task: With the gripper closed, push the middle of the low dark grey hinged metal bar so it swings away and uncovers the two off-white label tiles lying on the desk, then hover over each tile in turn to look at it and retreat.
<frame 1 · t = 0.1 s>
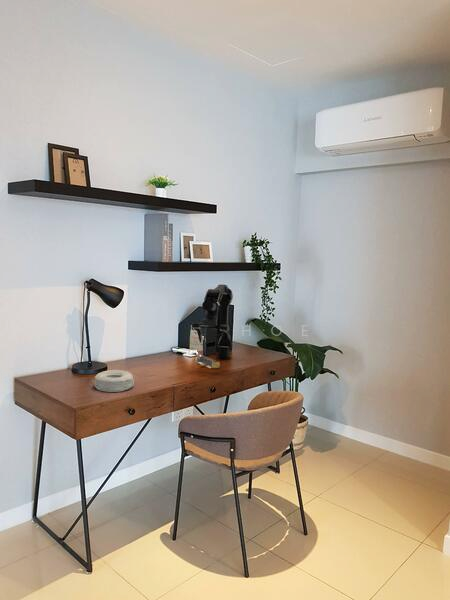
hand: (208, 343, 247), 15 cm above the table, tool pointing down, fingers open, 9 cm apart
label tile a: (205, 363, 267), on the table
grey stone ring: (114, 387, 217), on the table
label tile b: (212, 366, 261), on the table
swing arm: (207, 360, 265), point 2 cm above the table, hinge at 0.0°
pivot base: (200, 361, 271), on the table
ink cartridge box: (197, 354, 290), on the table
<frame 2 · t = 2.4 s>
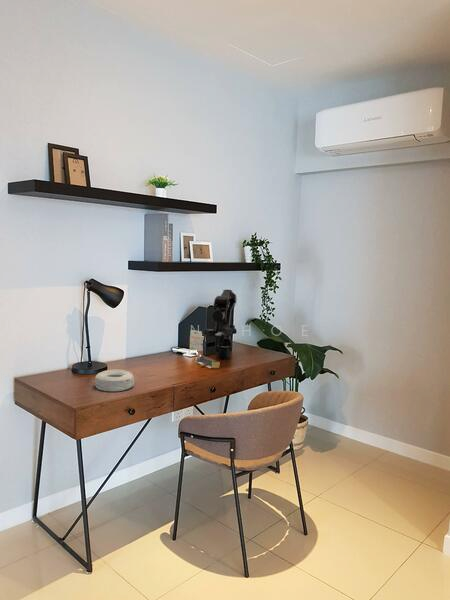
hand: (219, 346, 267), 10 cm above the table, tool pointing down, fingers closed
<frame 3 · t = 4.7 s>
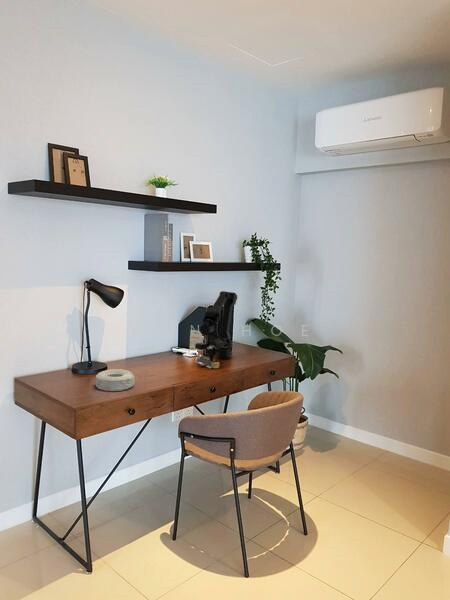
hand: (211, 360, 265), 3 cm above the table, tool pointing down, fingers closed
swing arm: (207, 360, 265), point 2 cm above the table, hinge at 0.8°, touching gripper
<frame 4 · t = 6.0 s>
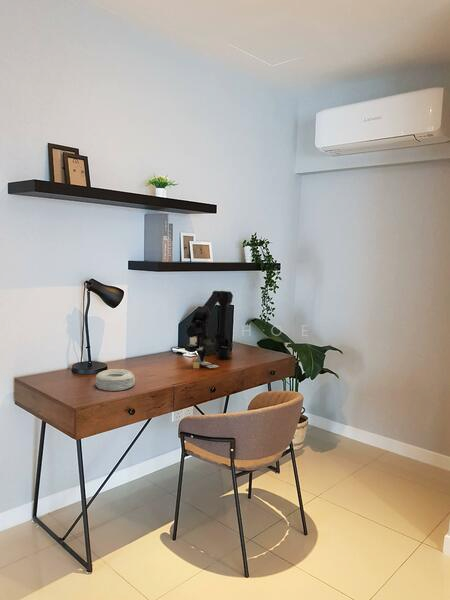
hand: (202, 361, 262), 2 cm above the table, tool pointing down, fingers closed
swing arm: (198, 361, 263), point 2 cm above the table, hinge at 41.4°, touching gripper
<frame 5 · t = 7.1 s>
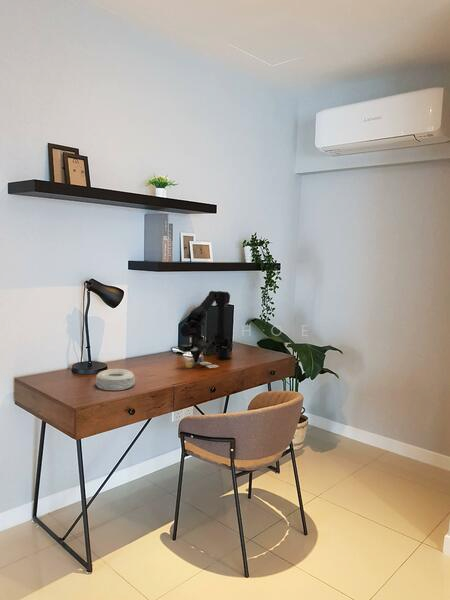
hand: (196, 362, 259), 2 cm above the table, tool pointing down, fingers closed
swing arm: (195, 360, 264), point 2 cm above the table, hinge at 55.8°, touching gripper
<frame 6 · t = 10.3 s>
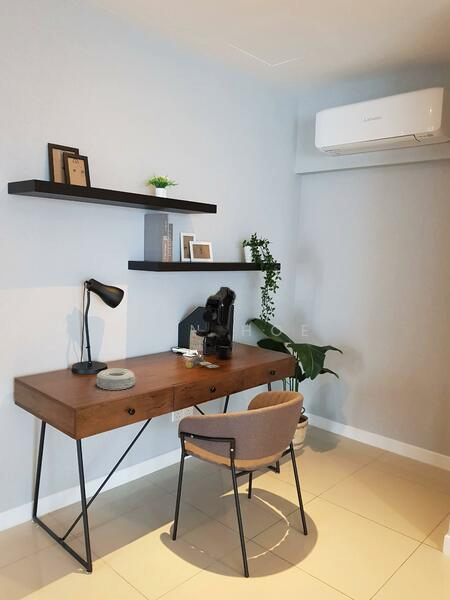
hand: (212, 348, 260), 10 cm above the table, tool pointing down, fingers closed
swing arm: (195, 360, 264), point 2 cm above the table, hinge at 56.1°
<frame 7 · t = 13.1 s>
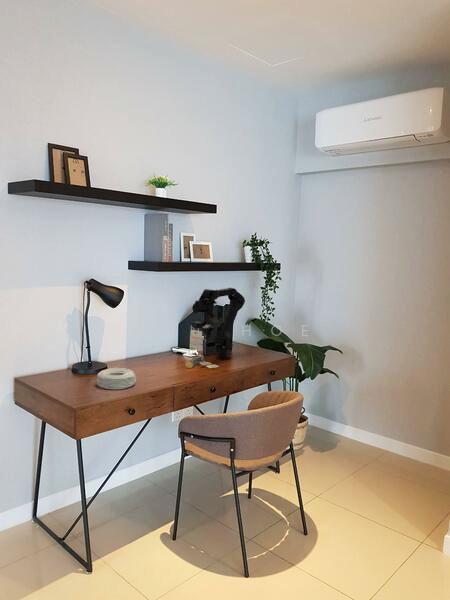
hand: (207, 339, 270), 13 cm above the table, tool pointing down, fingers closed
at the end: swing arm at +56° (first picture: +0°) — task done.
